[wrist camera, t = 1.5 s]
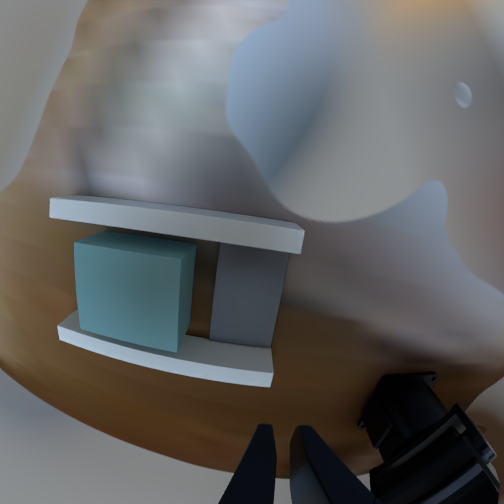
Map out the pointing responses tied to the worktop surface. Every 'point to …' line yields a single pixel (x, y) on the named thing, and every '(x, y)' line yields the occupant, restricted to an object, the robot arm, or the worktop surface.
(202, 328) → the worktop surface
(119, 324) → the teal block
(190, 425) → the worktop surface
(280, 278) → the channel
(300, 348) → the worktop surface
